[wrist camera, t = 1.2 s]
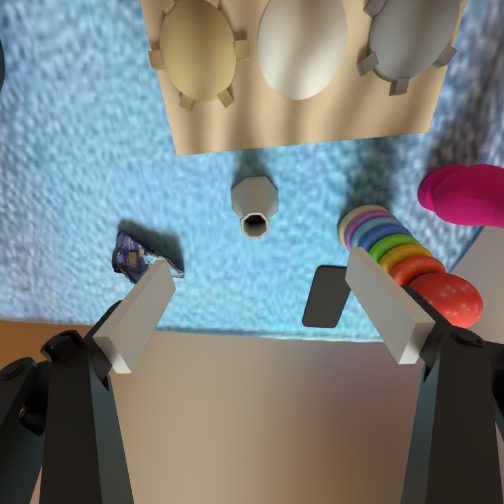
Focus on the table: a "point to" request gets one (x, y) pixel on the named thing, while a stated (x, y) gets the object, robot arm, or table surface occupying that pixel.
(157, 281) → the robot arm
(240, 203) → the flask
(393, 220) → the stacking toy
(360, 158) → the table surface
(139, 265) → the snack package
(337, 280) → the phone
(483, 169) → the pepper mill
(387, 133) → the gear board
